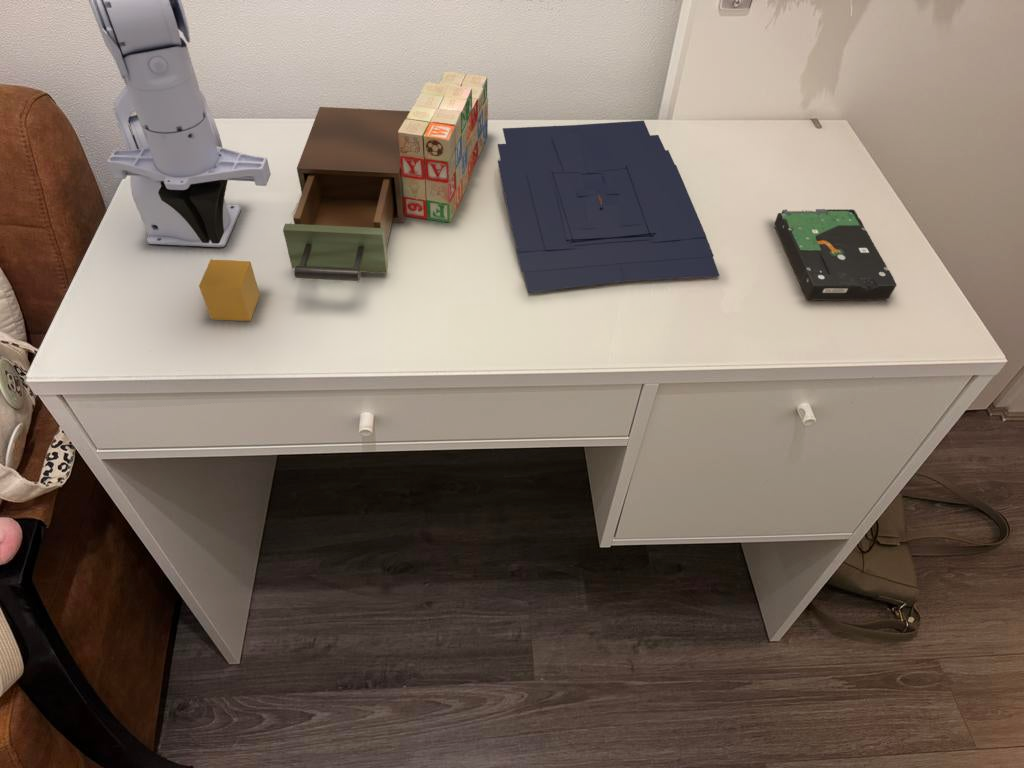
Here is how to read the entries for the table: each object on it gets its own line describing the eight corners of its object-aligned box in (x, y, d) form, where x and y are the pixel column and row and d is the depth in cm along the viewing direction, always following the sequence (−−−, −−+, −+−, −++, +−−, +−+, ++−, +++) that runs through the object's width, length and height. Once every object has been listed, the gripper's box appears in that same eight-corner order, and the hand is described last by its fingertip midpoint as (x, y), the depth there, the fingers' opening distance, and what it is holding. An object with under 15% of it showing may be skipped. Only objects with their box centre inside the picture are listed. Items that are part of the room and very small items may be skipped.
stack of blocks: (447, 130, 111) (444, 48, 101) (488, 136, 110) (489, 54, 101) (404, 216, 97) (396, 130, 88) (451, 224, 96) (448, 138, 87)
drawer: (380, 303, 85) (375, 265, 81) (281, 299, 85) (271, 260, 81) (400, 204, 97) (397, 166, 93) (314, 200, 97) (307, 162, 93)
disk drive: (889, 302, 90) (846, 224, 100) (899, 284, 88) (855, 207, 97) (806, 303, 89) (771, 224, 99) (814, 286, 87) (777, 207, 97)
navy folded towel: (652, 135, 110) (657, 114, 107) (715, 290, 93) (724, 270, 90) (488, 145, 106) (489, 123, 103) (524, 307, 90) (526, 287, 87)
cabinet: (403, 222, 96) (399, 172, 91) (306, 218, 96) (296, 168, 90) (415, 159, 106) (412, 111, 100) (327, 155, 105) (319, 106, 100)
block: (211, 319, 84) (198, 285, 80) (222, 292, 86) (210, 259, 83) (250, 321, 84) (240, 287, 80) (260, 294, 86) (250, 261, 83)
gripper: (73, 136, 65) (128, 258, 75) (242, 144, 65) (274, 265, 75) (104, 95, 69) (152, 215, 79) (262, 102, 69) (289, 222, 80)
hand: (213, 237), depth 78 cm, fingers closed
